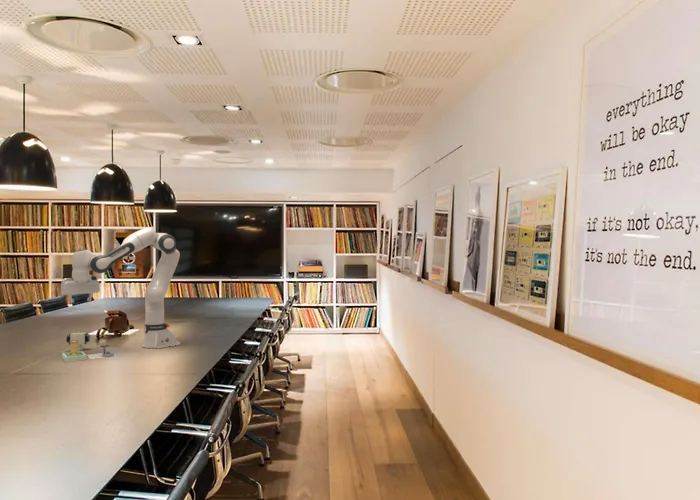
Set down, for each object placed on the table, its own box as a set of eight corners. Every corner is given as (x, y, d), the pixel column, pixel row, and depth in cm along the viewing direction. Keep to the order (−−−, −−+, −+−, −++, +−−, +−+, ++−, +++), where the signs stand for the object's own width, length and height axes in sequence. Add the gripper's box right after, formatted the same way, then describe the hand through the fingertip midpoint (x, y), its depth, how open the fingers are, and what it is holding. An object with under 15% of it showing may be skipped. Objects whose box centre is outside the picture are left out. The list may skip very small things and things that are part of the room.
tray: (82, 357, 275) (82, 351, 275) (86, 361, 265) (86, 355, 265) (61, 359, 269) (61, 353, 268) (65, 364, 259) (65, 357, 259)
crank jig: (110, 353, 284) (111, 341, 284) (116, 357, 275) (116, 345, 275) (86, 356, 276) (86, 343, 276) (90, 360, 267) (90, 347, 267)
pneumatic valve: (88, 352, 288) (88, 331, 288) (66, 352, 284) (66, 332, 284) (90, 350, 293) (90, 330, 293) (68, 350, 290) (68, 330, 289)
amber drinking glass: (78, 357, 270) (78, 339, 270) (79, 358, 267) (79, 340, 267) (69, 358, 267) (69, 340, 267) (70, 360, 264) (70, 341, 264)
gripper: (64, 278, 268) (64, 303, 269) (101, 277, 285) (101, 300, 285) (58, 278, 272) (58, 303, 272) (95, 276, 289) (95, 299, 289)
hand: (80, 301), depth 279 cm, fingers open, 8 cm apart
